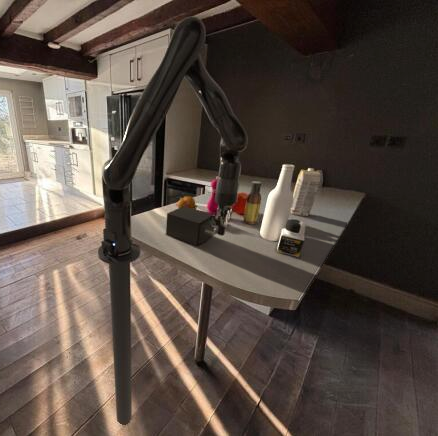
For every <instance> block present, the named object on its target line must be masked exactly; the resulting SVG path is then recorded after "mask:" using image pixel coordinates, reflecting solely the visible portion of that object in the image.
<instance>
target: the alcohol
mask: <svg viewBox="0 0 438 436" xmlns="http://www.w3.org/2000/svg"><path fill="white" fill-rule="evenodd" d="M281 167H282V168H281V171H280V173H279V178H278V181H277V183H276V186H275V188H273V189H272V190H271V191H270V192H269V194H268V196H267V200H266V205H265V207H264V208H265V209H264V212H263V217H262V223H261V225H260V226H261V227H260V231H259V235H260V237H261V238H263V239H264V240H267V241H271V242H279V240H280V236H281V232H282V229H283V228H284V229H285V225H286V222H287V220H289V217H290V214H291V207H292V203H293V192H292V190H291V189H292V188H291V186H292V180H293V175H294V171H295V168H296V167H295V165H294V164H286V163H285V164H282V166H281Z"/></svg>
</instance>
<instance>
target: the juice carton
mask: <svg viewBox="0 0 438 436" xmlns="http://www.w3.org/2000/svg"><path fill="white" fill-rule="evenodd" d="M321 177H322V173H321V172H320V171H319V170H315V168H311V167H308V168H307V169H301V170H300V171H299V174H298V176H297V179H296V183H295V187H294V190H293V192H292V194H293V203H292V207H291V211H290V214H291V215H296V216H301V217H309V214H310V213H311V212H312V208H313V206H314V203H315V199H316V195H317V193H318V189H319V186H320V183H321Z"/></svg>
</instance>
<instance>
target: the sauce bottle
mask: <svg viewBox="0 0 438 436" xmlns="http://www.w3.org/2000/svg"><path fill="white" fill-rule="evenodd" d="M262 185H263V183H262V182H261V181H259V180H257V181H256V180H254V181H253V180H252V181H251V187H250V191H249V193H248V194H249V196H248V197H247V200H246V206H245V212H244V214H243V222H244V223H245V224H248V225H256V224H257V223H258V220H259V215H260V209H261V205H262V194H261V193H260V192H261V188H262Z"/></svg>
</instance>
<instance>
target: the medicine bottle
mask: <svg viewBox="0 0 438 436" xmlns="http://www.w3.org/2000/svg"><path fill="white" fill-rule="evenodd" d="M306 227H307V224H306V223H305V222H304V221H302V220H299V219H293V218H291V219H288V220H287V222H286V225H285V229H284V228H283V229H282V232H281V236H280V240H279V241H278V244H277V249H276V252H277V253H281V254H284V255H285V254H286V255H288V256H293V257H297V258H299V257H300V256H301V252H302V249H303V247H304V243H305V230H306Z"/></svg>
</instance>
